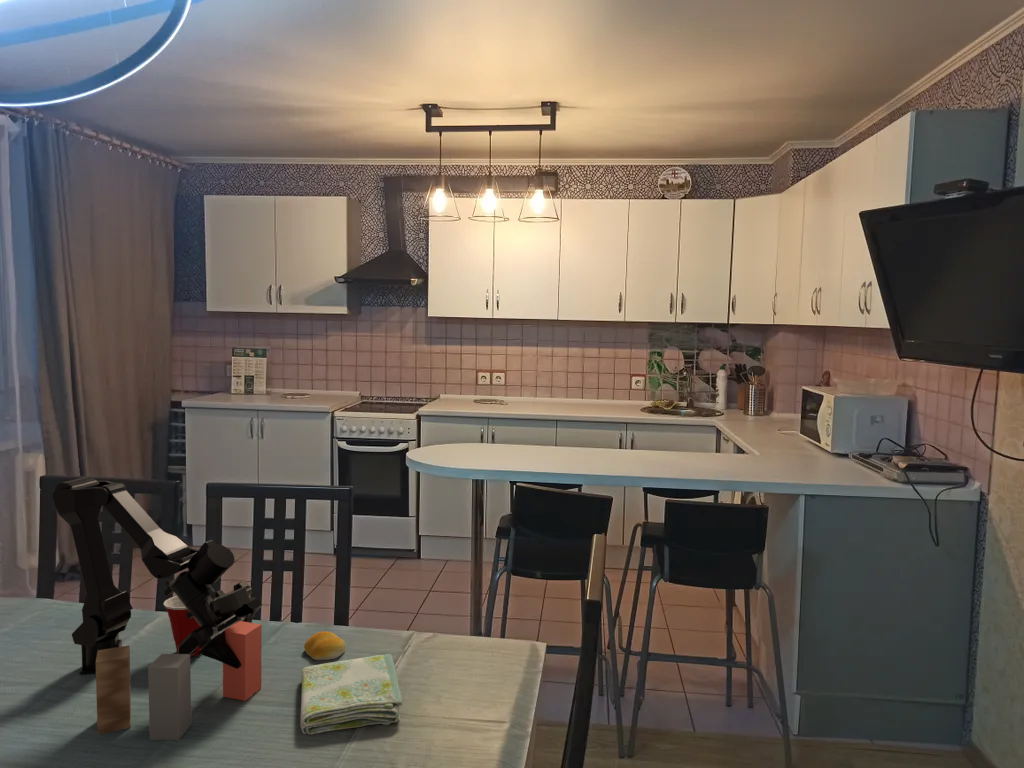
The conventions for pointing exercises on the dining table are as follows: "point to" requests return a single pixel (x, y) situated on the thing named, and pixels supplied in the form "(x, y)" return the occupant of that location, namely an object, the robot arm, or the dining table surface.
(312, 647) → the bread roll
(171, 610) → the plastic cup
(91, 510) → the robot arm
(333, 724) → the towel
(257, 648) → the red block
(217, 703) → the dining table surface
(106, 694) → the walnut block
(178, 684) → the gray block
